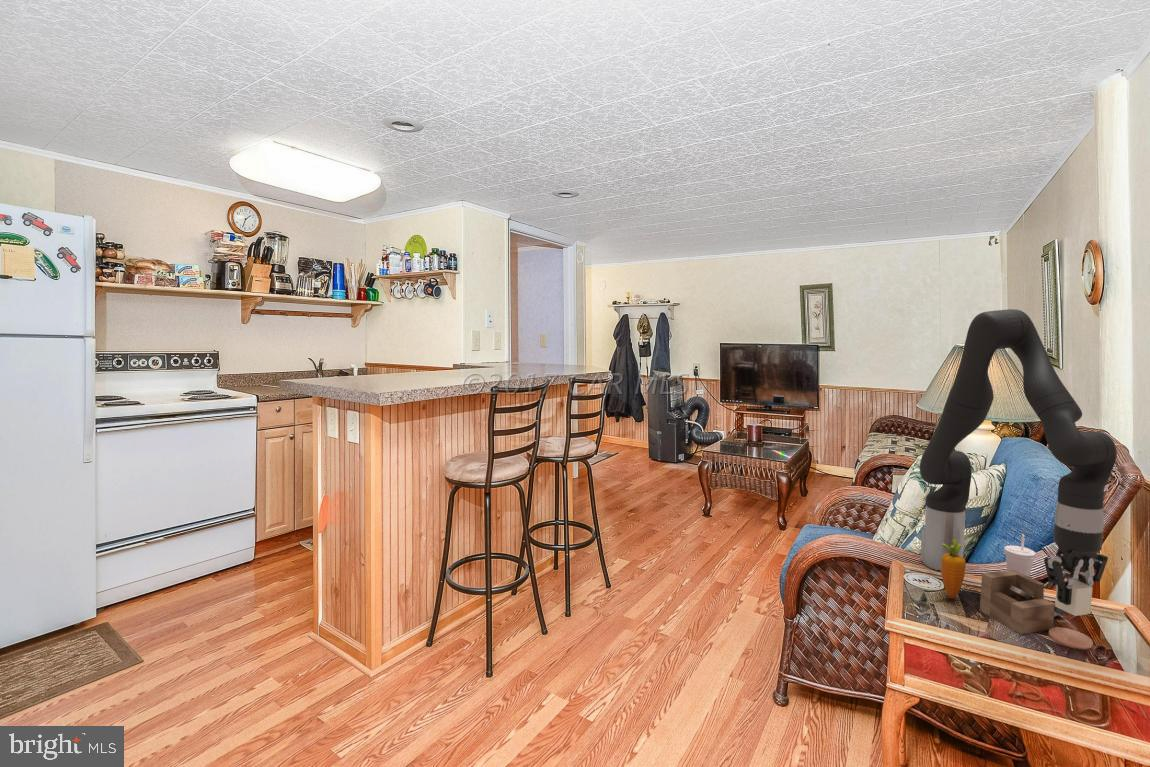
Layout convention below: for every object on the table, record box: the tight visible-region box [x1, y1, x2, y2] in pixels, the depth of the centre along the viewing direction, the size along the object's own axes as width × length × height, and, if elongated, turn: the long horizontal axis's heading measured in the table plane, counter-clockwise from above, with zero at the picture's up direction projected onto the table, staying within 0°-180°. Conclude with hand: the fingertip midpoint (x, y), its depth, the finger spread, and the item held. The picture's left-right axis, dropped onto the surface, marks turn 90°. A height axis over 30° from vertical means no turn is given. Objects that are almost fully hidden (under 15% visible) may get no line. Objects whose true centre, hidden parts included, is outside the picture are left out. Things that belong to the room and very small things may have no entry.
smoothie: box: [1003, 533, 1037, 578], centre depth 139 cm, size 6×6×14 cm
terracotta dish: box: [1048, 626, 1094, 650], centre depth 116 cm, size 7×7×1 cm
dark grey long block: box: [1010, 585, 1066, 618], centre depth 125 cm, size 13×4×3 cm
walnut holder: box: [979, 569, 1055, 635], centre depth 124 cm, size 10×10×10 cm
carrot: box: [941, 539, 967, 600], centre depth 134 cm, size 5×5×15 cm
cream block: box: [1054, 578, 1094, 617], centre depth 115 cm, size 4×4×6 cm
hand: (1073, 601), depth 115 cm, fingers closed on cream block, 4 cm apart
